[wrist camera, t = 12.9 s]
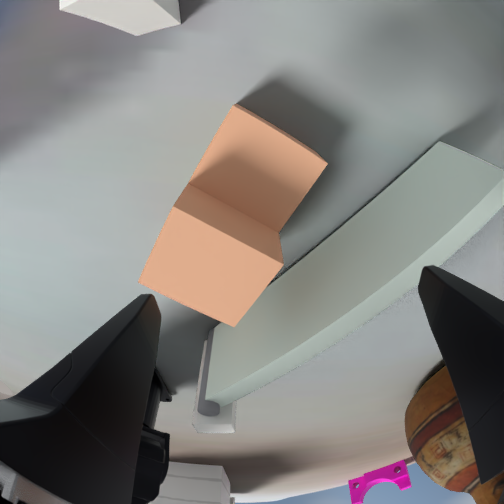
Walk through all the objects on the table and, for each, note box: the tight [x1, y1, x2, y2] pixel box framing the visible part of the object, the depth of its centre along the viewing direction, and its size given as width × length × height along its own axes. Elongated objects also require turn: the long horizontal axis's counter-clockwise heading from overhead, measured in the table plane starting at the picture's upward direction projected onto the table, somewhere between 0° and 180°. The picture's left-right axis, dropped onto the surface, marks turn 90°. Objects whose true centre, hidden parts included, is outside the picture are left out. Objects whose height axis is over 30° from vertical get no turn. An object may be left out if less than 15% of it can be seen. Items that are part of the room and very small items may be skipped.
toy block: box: [349, 460, 411, 504], centre depth 51 cm, size 15×6×8 cm, turn 121°
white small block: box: [60, 0, 237, 433], centre depth 16 cm, size 33×3×9 cm, turn 7°
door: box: [197, 141, 504, 416], centre depth 19 cm, size 25×3×8 cm, turn 135°
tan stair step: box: [138, 104, 328, 327], centre depth 17 cm, size 10×6×7 cm, turn 149°
